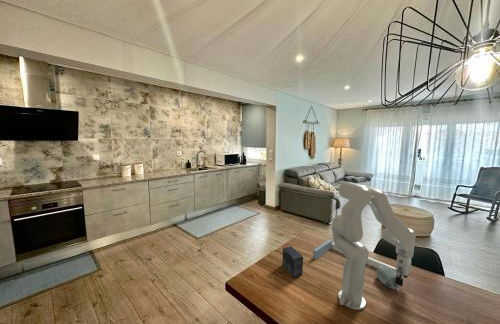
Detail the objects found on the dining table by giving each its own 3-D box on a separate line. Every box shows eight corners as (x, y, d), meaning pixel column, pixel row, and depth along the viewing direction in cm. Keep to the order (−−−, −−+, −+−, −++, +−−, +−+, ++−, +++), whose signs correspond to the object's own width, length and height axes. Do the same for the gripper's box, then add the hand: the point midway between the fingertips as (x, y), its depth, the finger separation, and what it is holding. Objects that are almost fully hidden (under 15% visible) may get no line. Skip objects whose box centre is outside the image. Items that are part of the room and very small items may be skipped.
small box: (302, 275, 127) (303, 256, 125) (293, 278, 124) (293, 259, 123) (290, 262, 139) (291, 245, 137) (281, 265, 136) (282, 247, 135)
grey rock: (407, 288, 112) (397, 269, 114) (390, 295, 113) (380, 276, 115) (393, 277, 125) (385, 260, 127) (378, 283, 126) (370, 267, 128)
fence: (389, 295, 111) (390, 285, 110) (313, 258, 144) (313, 250, 143) (401, 276, 126) (402, 267, 125) (329, 246, 159) (330, 238, 159)
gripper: (409, 260, 104) (405, 292, 106) (417, 248, 116) (413, 277, 118) (391, 254, 110) (388, 284, 112) (400, 243, 121) (397, 270, 123)
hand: (401, 280), depth 115 cm, fingers open, 9 cm apart
